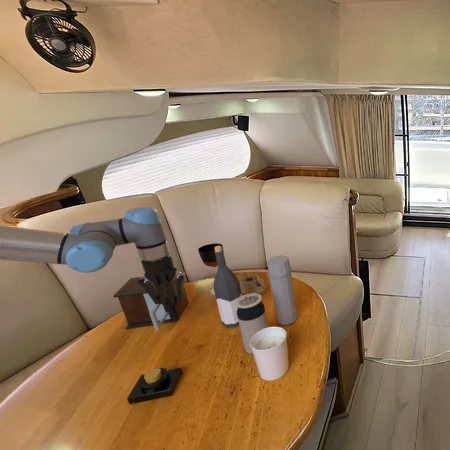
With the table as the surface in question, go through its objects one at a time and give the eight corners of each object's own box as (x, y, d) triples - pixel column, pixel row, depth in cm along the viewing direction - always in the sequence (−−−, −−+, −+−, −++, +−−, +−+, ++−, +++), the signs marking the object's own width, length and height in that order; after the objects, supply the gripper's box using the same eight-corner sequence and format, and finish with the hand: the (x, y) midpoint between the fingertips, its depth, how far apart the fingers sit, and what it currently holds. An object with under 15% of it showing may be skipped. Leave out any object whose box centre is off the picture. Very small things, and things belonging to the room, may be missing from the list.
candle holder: (254, 386, 88) (246, 353, 84) (259, 360, 97) (252, 329, 92) (290, 379, 90) (285, 346, 86) (292, 354, 99) (287, 324, 95)
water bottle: (302, 318, 116) (294, 258, 107) (283, 329, 110) (273, 267, 101) (287, 309, 121) (278, 251, 112) (269, 319, 115) (258, 259, 106)
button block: (129, 404, 83) (124, 393, 81) (143, 380, 90) (139, 369, 88) (172, 395, 85) (168, 384, 84) (182, 372, 92) (179, 362, 91)
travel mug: (274, 346, 102) (266, 300, 96) (249, 358, 98) (238, 311, 91) (266, 334, 108) (257, 289, 101) (241, 344, 103) (231, 299, 97)
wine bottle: (251, 315, 117) (236, 243, 106) (236, 329, 110) (218, 253, 99) (233, 312, 119) (217, 240, 108) (217, 325, 112) (197, 250, 101)
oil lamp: (256, 303, 124) (253, 286, 121) (230, 295, 130) (226, 278, 127) (277, 289, 134) (274, 273, 131) (251, 282, 139) (248, 266, 136)
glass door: (140, 339, 104) (129, 310, 99) (153, 320, 113) (143, 292, 109) (163, 335, 105) (153, 306, 101) (175, 317, 115) (166, 289, 110)
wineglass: (211, 286, 136) (201, 244, 128) (233, 283, 138) (224, 242, 131) (206, 296, 129) (195, 253, 121) (230, 293, 131) (220, 250, 124)
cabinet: (126, 329, 110) (112, 295, 105) (141, 309, 121) (130, 278, 115) (177, 321, 114) (167, 288, 109) (188, 302, 125) (179, 272, 120)
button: (143, 385, 84) (141, 380, 83) (149, 374, 87) (147, 369, 87) (158, 382, 85) (157, 377, 84) (164, 371, 88) (162, 367, 88)
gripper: (183, 248, 102) (200, 309, 110) (136, 253, 98) (157, 315, 107) (175, 259, 95) (193, 322, 104) (124, 264, 92) (148, 329, 100)
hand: (175, 318), depth 105 cm, fingers closed
